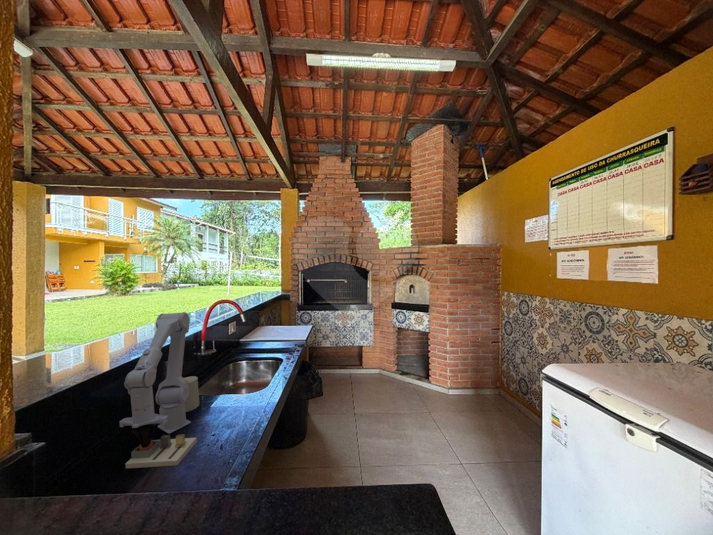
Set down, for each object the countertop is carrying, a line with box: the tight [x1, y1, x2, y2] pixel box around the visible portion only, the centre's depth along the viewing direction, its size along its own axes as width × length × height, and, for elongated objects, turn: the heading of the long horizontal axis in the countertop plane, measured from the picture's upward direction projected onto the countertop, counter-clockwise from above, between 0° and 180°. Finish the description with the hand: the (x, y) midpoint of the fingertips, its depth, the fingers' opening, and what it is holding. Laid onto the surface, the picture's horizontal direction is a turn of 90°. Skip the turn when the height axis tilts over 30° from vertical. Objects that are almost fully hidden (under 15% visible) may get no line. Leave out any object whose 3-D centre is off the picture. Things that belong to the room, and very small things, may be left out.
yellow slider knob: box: [175, 433, 187, 447], centre depth 93 cm, size 3×2×3 cm, turn 91°
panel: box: [124, 437, 198, 469], centre depth 92 cm, size 16×11×4 cm
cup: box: [175, 375, 200, 413], centre depth 121 cm, size 8×8×12 cm
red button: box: [140, 442, 153, 451], centre depth 91 cm, size 4×4×2 cm
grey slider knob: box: [160, 434, 172, 448], centre depth 93 cm, size 3×2×3 cm, turn 91°
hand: (146, 445), depth 91 cm, fingers closed
